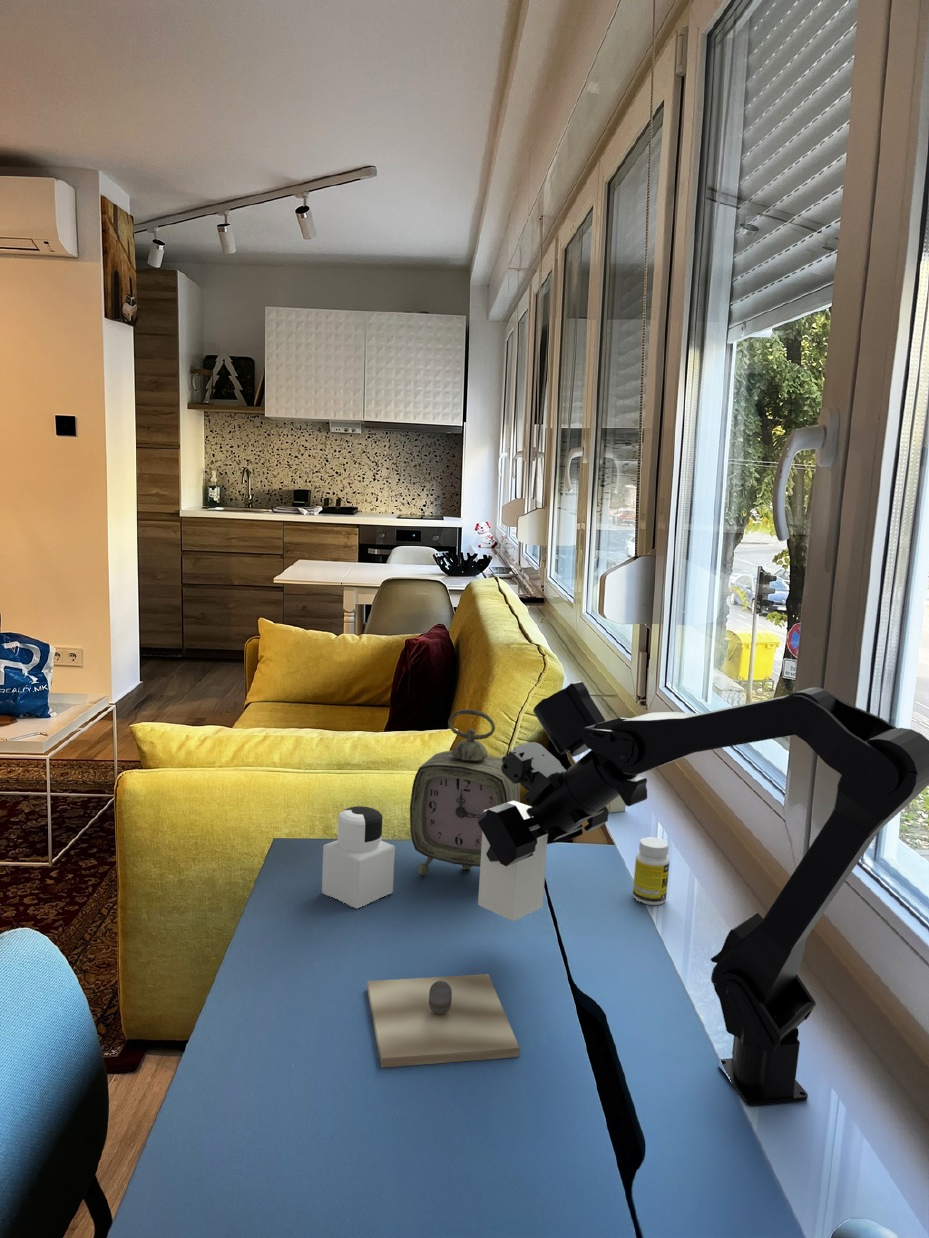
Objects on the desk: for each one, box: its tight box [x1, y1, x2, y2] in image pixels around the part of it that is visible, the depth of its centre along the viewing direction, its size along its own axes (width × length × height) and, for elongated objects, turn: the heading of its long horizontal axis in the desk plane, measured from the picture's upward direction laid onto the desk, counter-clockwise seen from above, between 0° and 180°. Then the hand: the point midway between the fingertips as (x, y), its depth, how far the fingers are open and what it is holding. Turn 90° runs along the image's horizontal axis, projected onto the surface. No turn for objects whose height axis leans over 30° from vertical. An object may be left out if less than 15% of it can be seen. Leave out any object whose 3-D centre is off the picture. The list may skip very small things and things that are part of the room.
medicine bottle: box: [321, 805, 396, 908], centre depth 126 cm, size 7×7×12 cm
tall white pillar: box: [477, 800, 548, 922], centre depth 111 cm, size 6×6×12 cm
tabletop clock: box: [409, 708, 521, 876], centre depth 133 cm, size 14×9×25 cm, turn 73°
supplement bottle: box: [632, 836, 671, 906], centre depth 130 cm, size 5×5×8 cm
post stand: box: [366, 973, 520, 1069], centre depth 98 cm, size 14×14×4 cm
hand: (505, 851), depth 112 cm, fingers closed on tall white pillar, 6 cm apart
